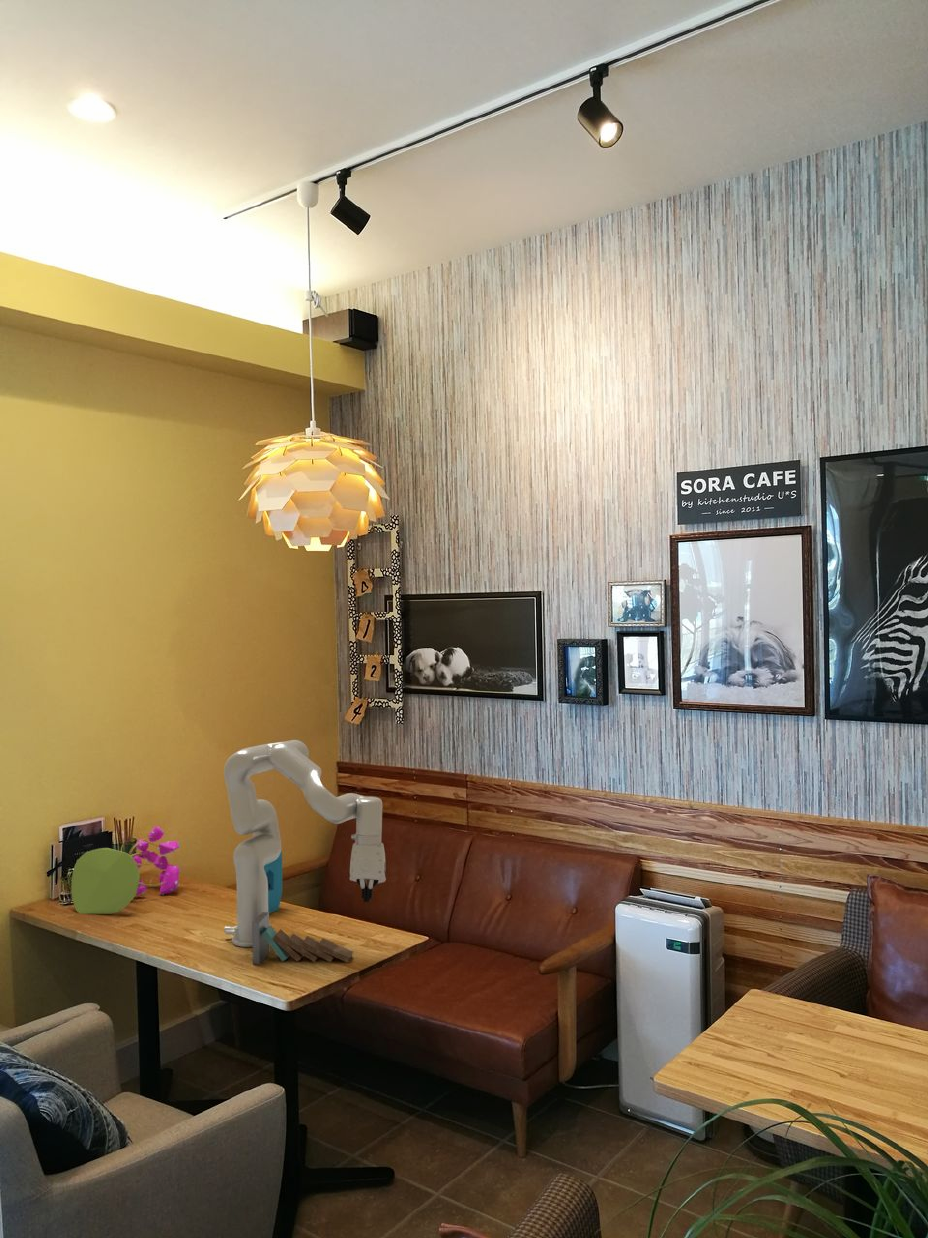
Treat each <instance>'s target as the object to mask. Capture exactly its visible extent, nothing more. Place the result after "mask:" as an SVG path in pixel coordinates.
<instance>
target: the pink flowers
mask: <svg viewBox="0 0 928 1238" xmlns="http://www.w3.org/2000/svg"><path fill="white" fill-rule="evenodd" d="M164 834H165V832H164V830H162V829H161V827H159V826H158V825H155V826H154V827H153V829H151V830H150V832H149V834H147V837H145V838H139V839H138V840H137V841H136V843H135V844H134V843H130V845H131V846H132V847H131V848H130V850H129V852H128V853H127V852H125V851H123V846H125V845H129V843H123V844H122V845H121V847H120V850H117V849H114V848H109V847H102V848H96V849H92V850H90V851H86V852H85V853H84V854H82V855H81V856H80V857H79V858H78V859H77V861H76V863H75V864H74V867H73V871H72V876H71V884H70V885H71V886H70V887H71V898H72V902H73V905H74V908H75V911H76V912H77V913H79V914H82V915H83V914H85V915H86V914H87V915H95V914H97V915H104V914H105V915H106V914H107V915H109V914H110V915H111V914H116V913H119V912H121V911H122V910H124V909H125V908H126V907H127V906H128V905H129V904H130V903H131V902H132V901H133V900H134V898H135V897H136V895H141V894H145V891H147V888H148V887H149V888H152V887H159V886H160V889H159V892H158V893H159V894H161V895H162V896H164V895H165V894H166V895H168V894H170V893H173V892H174V891H176V889H177V888H178V887H179V878H180V867H179V865H174V864H170V863H169V861H168V858H167V854H171V853H175V851H176V850H177V849H179V848H180V847H181V846H180V845H179V843H180V842H178V841H177V840H173V841H170V840H168V841H167V842H162V843H158V845H157V844H154V843H155V842H158V841H160V840H161V839H162V838H163V837H164ZM147 840H149V841H147ZM150 845H153V846H155V847H157V850H158V851H159V854H158V853H156V852H155V851H149V849H148V848H149V847H150ZM135 848H136V849H137V850H139V851H141V852H139V853H138V852H136V853H133V850H134V849H135ZM160 855H161V856H160ZM142 859H143V860H147V862H146V863H143V862H142ZM150 865H153V866H154V867H156V869H159V870H162V871H161V872H160V874H159V875H155V876H153V877H152V878H151V879H150V881H149V884H147V883H144V881H143V880H142V878H140V877H141V876H140V875H141V874H140V871H139V869H141V867H142V866H150ZM157 877H158V880H159V883H157V884H152V880H154V879H155V878H157Z"/></svg>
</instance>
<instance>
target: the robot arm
mask: <svg viewBox="0 0 928 1238" xmlns="http://www.w3.org/2000/svg"><path fill="white" fill-rule="evenodd" d="M309 756H310V752H309V748H308V746H307V745H306V744H305V743H304V742H303V741H301V740H298V739H291V740H286V741H278V742H271V743H264V744H260V745H255V746H250V747H245V748H242V749H240V750H238V751H236V752H234V753H233V754H232V755H230V756H229V758H227V760H226V762H225V764H224V767H223V777H224V782H225V786H226V790H227V791H226V792H227V798H228V803H229V804H228V805H229V809H230V816H231V823H232V826H233V829H234V832H236V833H237V834H239V835H240V836H248V835H252V837H249V838H247V839H244V840H243V841H241V842H240V843H239V844H238V845H237V846H236V847H235V849H234V851H233V854H232V860H233V866H234V870H235V871H234V872H235V882H236V925H234V926H224V929H223V932H224V934H225V935H226V936H227V935H229V936H230V935H232V936H233V937H232V938H231V943H232V944H233V945H234V946H237V947H242V948H243V947H244V948H253V932H252V923H253V922H254V921H255V919H256V918H257V917H258V916H259V915H260V914H261V913H262V912H268V881H267V876H266V873H265V870H264V866H265V865H267V864H269V863H271V862H273V861H275V860H276V859H277V858H278V857H279V855H280V853H281V850H282V839H281V833H280V827H279V821H278V815H277V811H276V809H275V807H274V805H273V804H272V803H271V802H270V801H268V800H266V799H262V798H261V799H258V797H257V791H256V790H257V789H256V787H255V784H254V782H253V780H252V779H251V776H253V775H257V774H261V773H264V772H268V771H273V770H277V771H278V772H279V773H280V774H282V775H283V776H284V777H285V778H287V779H288V780H289V781H290V782H292V784H294V785H295V786H297V787H298V788H299V789H300V790H301V791H302V794H303V797H304V798H305V800H306V801H307V803H308V805H309V806H310V808H311V809H312V810H314V811H315V813H317V814H318V815H319V816H321V817H322V818H324V819H325V820H326V821H328V822H330V823H331V824H337V825H339V824H342V823H345V822H346V821H349V820H352V819H353V820H354V819H356V824H355V826H356V827H355V828H356V829H355V831H356V832H355V833H354V834H351V837H350V839H351V840H354V843H352V848H351V854H350V862H349V880H350V881H352V882H356V883H357V885H359V887H360V888H361V899H362V900H363V903H370V901H371V900H373V898H374V897H373V896H374V892H373V891H374V887H375V886H376V885H377V884H381V883H385V881H386V880H387V878H386V853H385V847H384V846H385V845H384V843H383V842H382V834H383V833H382V832H383V831H382V830H383V828H382V827H383V801H382V799H381V798H380V797H377V796H364V795H361V794H358V793H355V792H349V793H344V794H341V795H340V796H339V795H338V796H335V795H334V794H333V793H331V792H330V791H329V790H328V789H327V787H325V786H324V785H323V784H322V781H321V776H322V769H321V767H320V766H318V765H317V764H316V763H315V762H313V761H312V760H311V759H310V758H309ZM367 880H369V882H368V884H367Z"/></svg>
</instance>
